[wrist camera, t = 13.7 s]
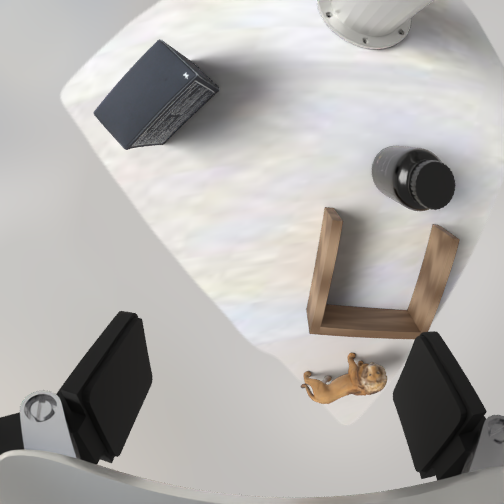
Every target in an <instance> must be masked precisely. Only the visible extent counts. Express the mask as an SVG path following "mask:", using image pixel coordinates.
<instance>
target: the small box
mask: <svg viewBox="0 0 504 504" xmlns="http://www.w3.org/2000/svg"><path fill="white" fill-rule="evenodd" d="M218 91H219V87H218V86H217V85H216V84H214V83H213V82H212V80H210V78H208V77H207V76H206V75H205V74H204V73H203V72H202V71H201V70H200V69H199V67H197V66H196V65H195V64H194V63H192V62H191V61H190V60H189V59H187V58H186V57H185V56H183V55H182V54H180V53H179V52H178V51H176V50H175V49H173V48H172V47H171V46H169V45H168V44H166V43H165V42H164V41H162V40H160V39H159V40H158V41H157V42H156V43H155V44H154V45H153V46H152V47H151V48H150V49H149V50H148V51H147V52H146V53H145V54H144V55H143V56H142V57H141V58H140V59H139V60H138V61H137V62H136V63H135V65H134V66H133V67H132V68H131V69H130V70H129V71H128V72H127V73H126V74H125V75H124V77H123V78H122V79H121V80H120V81H119V82H118V83H117V84H116V86H115V87H114V88H113V89H112V90H111V92H110V93H109V94H108V95H107V96H106V97H105V99H104V100H103V101H102V102H101V104H100V105H99V106H98V107H97V109H96V110H95V111H94V115H95V116H96V117H97V119H98V120H99V121H100V122H101V123H102V124H103V126H104V127H105V128H106V129H107V130H108V131H109V132H110V133H111V135H112V136H113V137H114V138H115V139H116V140H117V141H118V142H119V144H120V145H121V146H122V147H123V148H124V149H125V150H128V149H130V148H136V147H144V146H152V145H163V144H164V143H165V142H166V141H167V140H168V139H169V138H170V137H171V136H172V135H173V134H174V133H175V132H176V131H177V130H178V129H179V128H180V127H181V126H182V125H183V124H184V123H185V122H186V121H187V120H188V119H189V118H190V117H191V116H192V115H193V114H194V113H196V112H197V111H198V110H199V109H200V108H201V107H202V106H203V105H204V104H205V103H206V102H207V101H208V100H209V99H210V98H211V97H212V96H214V95H215V94H216V93H217V92H218Z"/></svg>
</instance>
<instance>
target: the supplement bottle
mask: <svg viewBox="0 0 504 504" xmlns="http://www.w3.org/2000/svg"><path fill="white" fill-rule="evenodd" d="M372 177H373V181H374V183H375V185H376V187H377V188H378V189H379V190H380V191H381V192H382V193H383V194H384V195H386V196H388V197H389V198H391V199H393V200H395V201H396V202H398V203H400V204H401V205H403V206H405V207H406V208H408V209H411V210H414V211H425V210H429V209H434V210H436V209H440V208H443V207H444V206H446V205H447V204H448V203H449V202H450V200H451V199H452V196H453V195H454V191H455V180H454V176H453V174H452V172H451V171H450V168H448V167H447V165H444V163H442V162H441V160H440V159H439V158H438V157H437V156H436V155H435V154H434V153H432V152H430V151H428V150H426V149H421V148H413V147H404V146H390V147H387V148H385V149H383V150H381V151H380V152H379V153H378V154H377V156H376V157H375V159H374V162H373V165H372Z"/></svg>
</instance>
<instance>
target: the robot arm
mask: <svg viewBox="0 0 504 504" xmlns="http://www.w3.org/2000/svg"><path fill="white" fill-rule="evenodd" d="M432 1H434V0H317V5H318V10H319V12H320V14H321V17H322V18H323V20H324V22H325V23H326V24H327V26H328V27H329V28H330V29H331V30H332V31H333V32H334V33H336V34H337V35H338V36H339V37H341V38H342V39H344V40H346V41H347V42H349V43H352V44H354V45H356V46H360V47H363V48H369V49H384V48H388V47H391V46H393V45H395V44H397V43H399V42H400V41H402V40H403V39H404V38H405V37H406V35H407V34H408V32H409V30H410V26H411V17H412V16H414V15H415V14H416V13H418V12H419V11H420V10H422V9H423V8H424V7H426V6H427V5H428V4H430V3H431V2H432ZM327 16H330V18H329V17H327ZM398 32H399V33H400V34H399V33H398ZM363 41H365V42H366V44H365V43H364V42H363ZM151 384H152V372H151V367H150V362H149V356H148V352H147V346H146V340H145V334H144V328H143V322H142V319H140V318H138V316H137V314H136V313H131V312H124V311H120V312H119V313H118V314H117V315H116V316H115V317H114V319H113V320H112V321H111V322H110V324H109V325H108V326H107V328H106V329H105V330H104V331H103V333H102V334H101V335H100V336H99V338H98V339H97V340H96V342H95V343H94V344H93V346H92V347H91V348H90V349H89V351H88V352H87V353H86V354H85V356H84V357H83V358H82V360H81V361H80V363H79V364H78V365H77V366H76V368H75V369H74V370H73V372H72V373H71V375H70V376H69V377H68V379H67V380H66V381H65V383H64V384H63V386H62V387H61V388H60V390H59V391H58V393H57V394H55V393H52V392H51V391H45V390H43V391H36V392H33V393H31V394H30V395H28V396H27V397H26V398H25V399H24V400H23V401H22V403H21V406H20V413H16V414H12V415H9V416H5V417H1V418H0V504H504V416H501V415H492V416H490V417H488V418H487V419H486V418H485V417H484V415H485V413H486V409H485V408H484V406H483V404H482V402H481V400H480V399H479V397H478V395H477V394H476V392H475V390H474V388H473V387H472V385H471V383H470V382H469V380H468V378H467V377H466V375H465V373H464V372H463V370H462V369H461V367H460V365H459V364H458V362H457V361H456V359H455V357H454V356H453V355H452V353H451V351H450V350H449V348H448V347H447V345H446V344H445V342H444V341H443V339H442V338H441V336H440V335H439V333H438V332H422V333H421V334H420V336H417V337H416V339H415V341H414V344H413V346H412V349H411V351H410V354H409V356H408V359H407V361H406V364H405V366H404V368H403V371H402V373H401V375H400V378H399V380H398V383H397V384H396V387H395V389H394V392H393V401H394V403H395V406H396V409H397V412H398V415H399V418H400V421H401V424H402V427H403V431H404V433H405V437H406V440H407V443H408V446H409V450H410V453H411V456H412V460H413V463H414V467H415V469H416V471H417V472H420V476H421V479H424V478H428V477H432V476H435V475H436V478H437V481H434V482H429V483H425V484H420V485H415V486H411V487H405V488H400V489H394V490H388V491H381V492H375V493H366V494H358V495H347V496H334V497H310V498H309V497H308V498H284V497H282V498H281V497H260V496H246V495H235V494H226V493H218V492H210V491H203V490H197V489H191V488H186V487H180V486H175V485H171V484H166V483H161V482H157V481H153V480H149V479H145V478H141V477H136V476H133V475H129V474H126V473H122V472H119V471H115V470H112V469H109V468H106V467H103V466H99V465H96V464H98V462H99V460H100V459H101V460H104V461H107V462H110V463H112V461H113V459H114V457H115V456H117V457H118V456H119V455H120V454H121V451H122V449H123V447H124V445H125V442H126V440H127V438H128V436H129V433H130V431H131V429H132V427H133V424H134V422H135V420H136V417H137V415H138V413H139V411H140V409H141V406H142V404H143V402H144V400H145V398H146V395H147V393H148V391H149V388H150V386H151Z"/></svg>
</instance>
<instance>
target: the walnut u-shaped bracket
mask: <svg viewBox="0 0 504 504" xmlns="http://www.w3.org/2000/svg"><path fill="white" fill-rule="evenodd" d="M342 224H343V221H342V219H341V218H340V216H339V215H338V214H337V212H336V211H335V209H334V208H327V207H325V209H324V215H323V222H322V228H321V234H320V240H319V246H318V251H317V257H316V263H315V268H314V273H313V279H312V284H311V289H310V294H309V299H308V304H307V309H306V310H307V318H308V325H309V333H310V334H319V335H332V336H347V337H365V338H389V339H416V337H417V336H420V334H421V333H422V332H428V330H429V328H430V326H431V323H432V321H433V318H434V316H435V313H436V310H437V308H438V305H439V303H440V300H441V297H442V294H443V292H444V289H445V286H446V283H447V280H448V277H449V274H450V271H451V268H452V264H453V261H454V258H455V254H456V251H457V248H458V244H459V239H458V238H457V237H455V236H454V235H452V234H451V233H449V232H448V231H447V230H445V229H444V228H442V227H441V226H439V225H434V224H433V225H432V230H431V234H430V238H429V242H428V245H427V249H426V253H425V256H424V260H423V263H422V267H421V270H420V274H419V277H418V280H417V283H416V286H415V289H414V293H413V296H412V298H411V301H410V304H409V307H408V310H393V309H378V308H365V307H353V306H341V305H329V304H326V302H327V298H328V293H329V289H330V284H331V280H332V275H333V270H334V265H335V261H336V256H337V251H338V245H339V240H340V235H341V230H342Z"/></svg>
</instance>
